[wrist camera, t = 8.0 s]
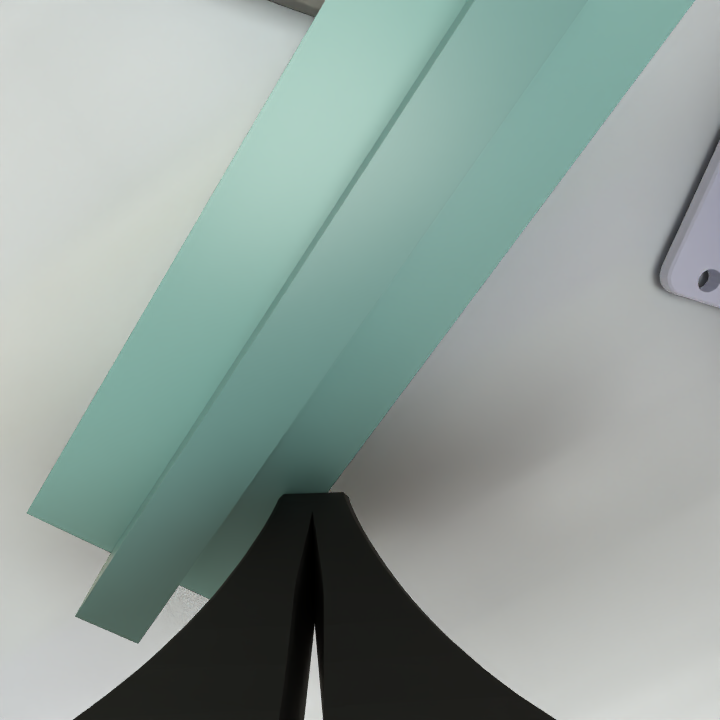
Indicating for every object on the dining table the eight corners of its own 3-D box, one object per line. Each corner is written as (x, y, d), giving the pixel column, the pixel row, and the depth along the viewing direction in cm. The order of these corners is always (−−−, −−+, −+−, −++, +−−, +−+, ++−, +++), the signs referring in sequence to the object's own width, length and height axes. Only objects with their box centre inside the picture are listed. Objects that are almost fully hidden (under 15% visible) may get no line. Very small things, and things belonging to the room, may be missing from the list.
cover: (539, -352, 8) (632, -586, 5) (759, -109, 9) (916, -213, 6) (42, 495, 11) (-30, 575, 9) (242, 590, 12) (223, 685, 10)
